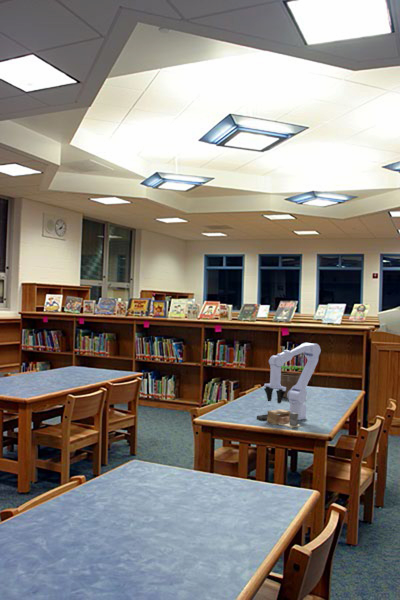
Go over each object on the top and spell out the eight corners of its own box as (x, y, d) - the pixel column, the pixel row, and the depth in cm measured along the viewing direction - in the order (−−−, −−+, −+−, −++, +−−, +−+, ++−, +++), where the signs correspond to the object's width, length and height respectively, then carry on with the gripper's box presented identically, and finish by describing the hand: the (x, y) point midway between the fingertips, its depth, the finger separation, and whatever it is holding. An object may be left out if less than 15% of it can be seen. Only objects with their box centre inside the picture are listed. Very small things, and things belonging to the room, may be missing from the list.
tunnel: (281, 420, 286) (281, 409, 286) (289, 422, 281) (290, 411, 281) (267, 422, 278) (267, 410, 278) (275, 424, 274) (276, 413, 274)
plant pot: (277, 394, 374) (278, 372, 374) (300, 396, 372) (301, 373, 372) (278, 398, 358) (279, 375, 358) (301, 400, 355) (303, 376, 356)
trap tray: (267, 417, 292) (268, 414, 292) (274, 419, 288) (274, 415, 288) (256, 418, 286) (256, 415, 286) (263, 420, 282) (263, 417, 282)
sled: (275, 419, 286) (275, 407, 286) (300, 426, 273) (300, 413, 273) (266, 421, 282) (267, 408, 282) (291, 427, 268) (291, 414, 268)
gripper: (260, 376, 289) (259, 400, 288) (280, 379, 277) (279, 405, 277) (269, 375, 293) (268, 399, 293) (289, 379, 282) (288, 403, 282)
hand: (274, 402), depth 285 cm, fingers open, 7 cm apart
